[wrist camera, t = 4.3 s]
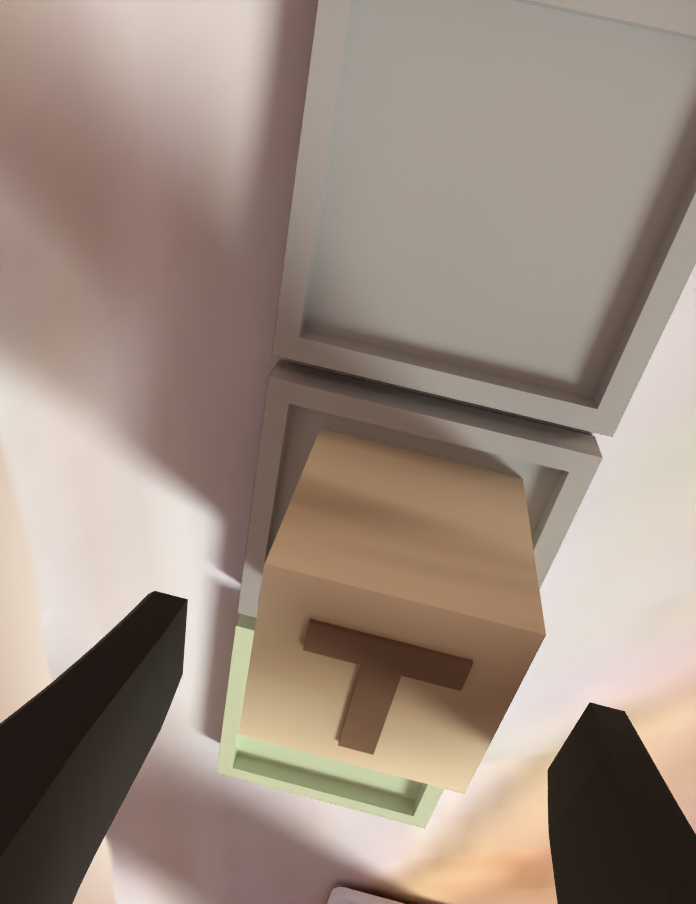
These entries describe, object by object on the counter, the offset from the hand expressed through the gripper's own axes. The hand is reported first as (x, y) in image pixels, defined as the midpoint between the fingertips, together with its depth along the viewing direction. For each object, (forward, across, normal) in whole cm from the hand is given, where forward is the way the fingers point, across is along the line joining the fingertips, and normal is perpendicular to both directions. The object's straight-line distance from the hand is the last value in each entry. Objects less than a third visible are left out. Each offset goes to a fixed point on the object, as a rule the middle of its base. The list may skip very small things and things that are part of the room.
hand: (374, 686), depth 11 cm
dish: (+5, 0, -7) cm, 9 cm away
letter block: (+5, 0, 0) cm, 5 cm away
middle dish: (+5, 0, 0) cm, 5 cm away
